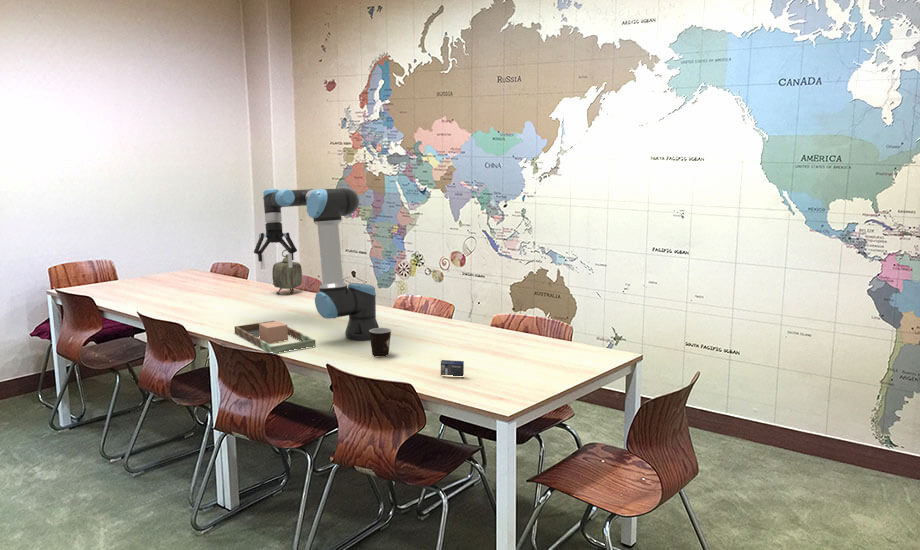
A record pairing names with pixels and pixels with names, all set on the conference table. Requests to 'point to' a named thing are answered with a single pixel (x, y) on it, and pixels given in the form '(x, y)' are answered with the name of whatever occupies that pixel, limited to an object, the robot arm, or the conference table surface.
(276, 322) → the terracotta block
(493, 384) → the conference table surface
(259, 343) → the wooden tray
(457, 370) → the mini dv tape
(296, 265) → the tabletop clock
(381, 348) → the coffee mug
